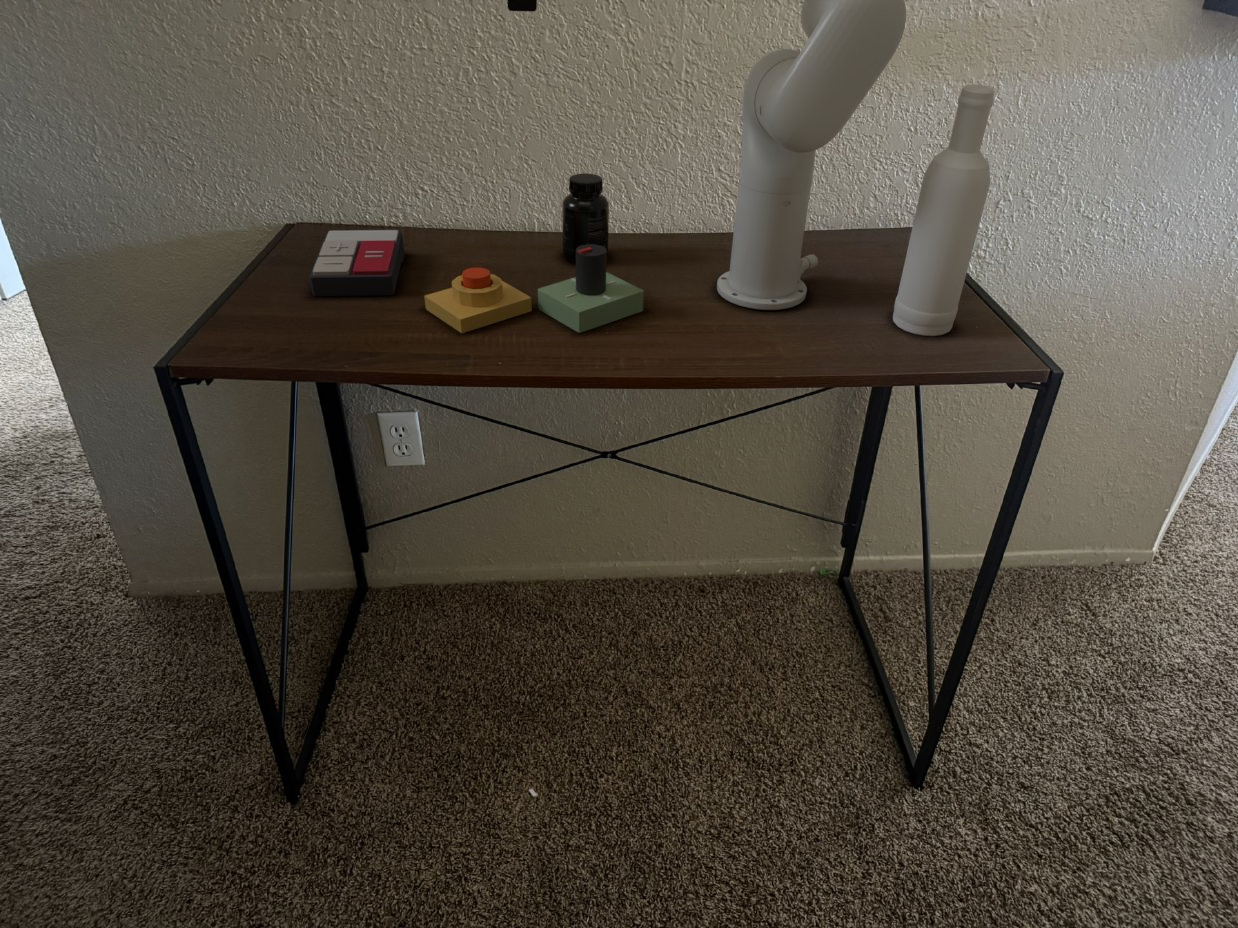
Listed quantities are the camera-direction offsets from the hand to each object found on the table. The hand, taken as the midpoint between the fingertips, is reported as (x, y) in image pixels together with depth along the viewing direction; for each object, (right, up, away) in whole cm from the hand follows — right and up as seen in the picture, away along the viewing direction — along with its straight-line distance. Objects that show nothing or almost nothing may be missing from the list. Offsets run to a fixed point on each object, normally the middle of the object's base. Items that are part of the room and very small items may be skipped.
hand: (521, 4), depth 104 cm
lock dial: (+7, -30, +16) cm, 35 cm away
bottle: (+52, -34, +17) cm, 65 cm away
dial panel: (+7, -32, +18) cm, 38 cm away
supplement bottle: (+6, -22, +33) cm, 40 cm away
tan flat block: (-8, -32, +17) cm, 37 cm away
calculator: (-26, -26, +26) cm, 45 cm away
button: (-8, -29, +15) cm, 34 cm away
